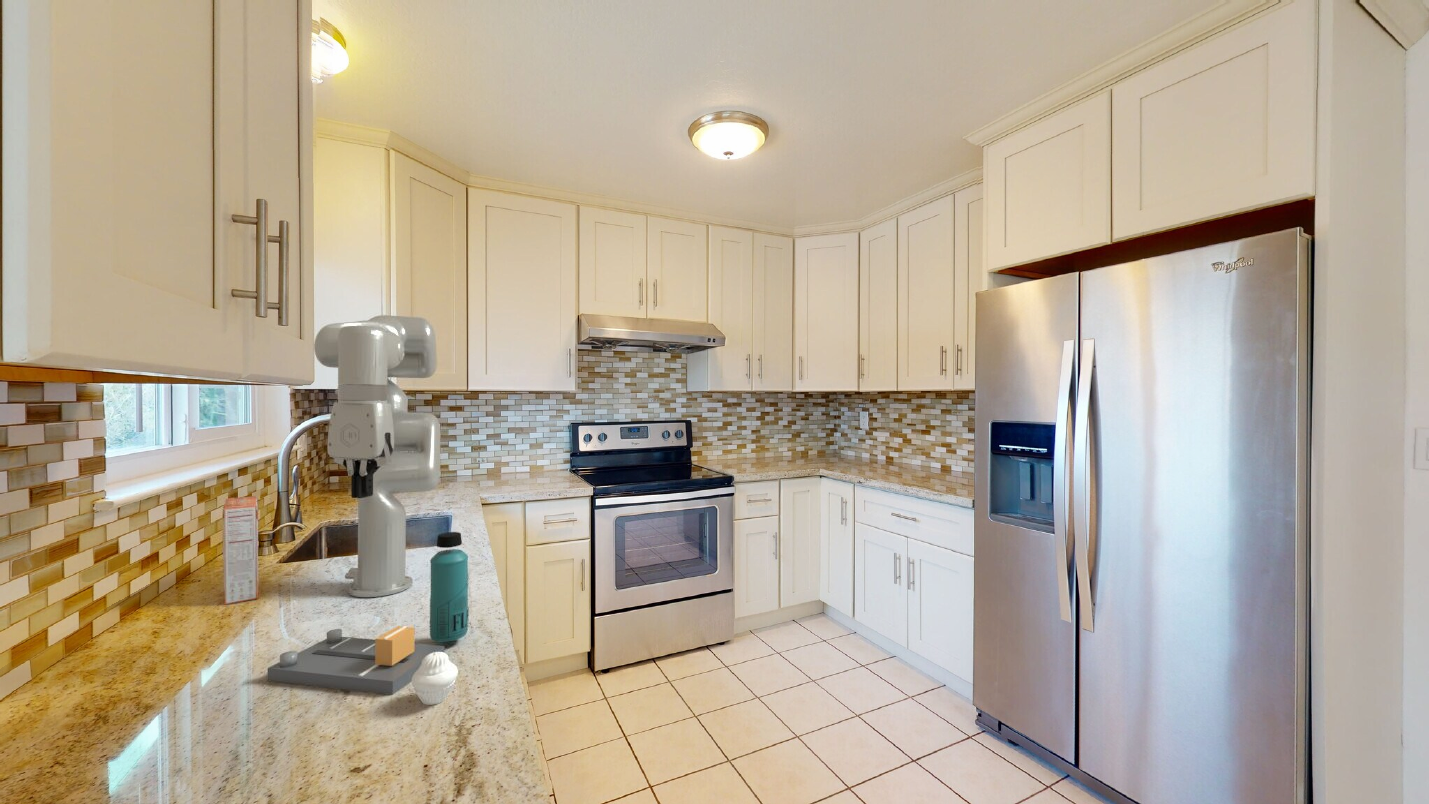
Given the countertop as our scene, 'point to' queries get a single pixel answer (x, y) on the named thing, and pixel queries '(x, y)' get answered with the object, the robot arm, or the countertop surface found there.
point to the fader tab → (394, 645)
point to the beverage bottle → (449, 590)
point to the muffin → (434, 678)
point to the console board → (347, 665)
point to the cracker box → (240, 549)
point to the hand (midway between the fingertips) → (362, 496)
